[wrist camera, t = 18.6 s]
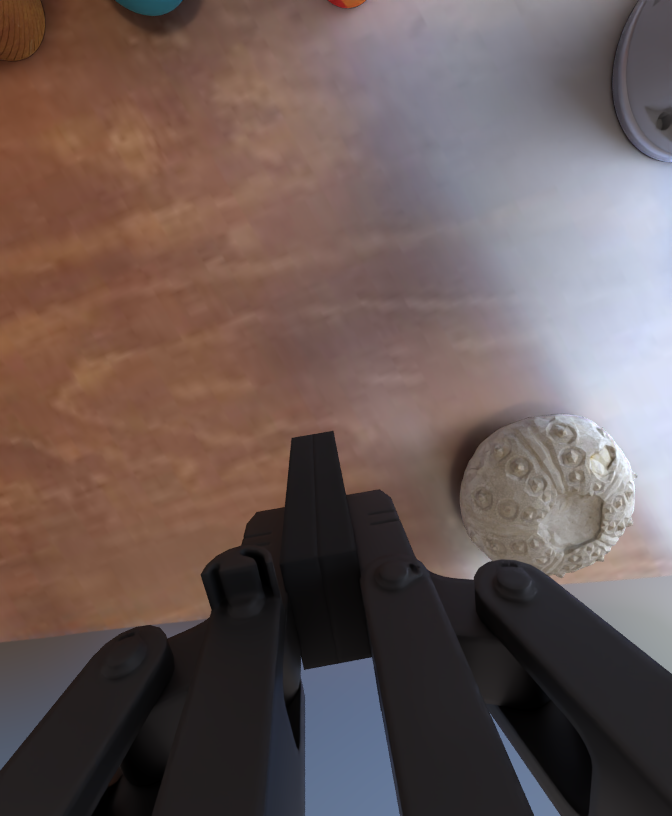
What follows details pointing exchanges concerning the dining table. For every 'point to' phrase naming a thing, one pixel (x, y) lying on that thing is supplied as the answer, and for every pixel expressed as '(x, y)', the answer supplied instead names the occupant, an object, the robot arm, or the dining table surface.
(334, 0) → the paper cup
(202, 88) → the dining table surface
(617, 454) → the decorative shell
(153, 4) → the ball
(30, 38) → the disposable coffee cup
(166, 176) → the dining table surface
